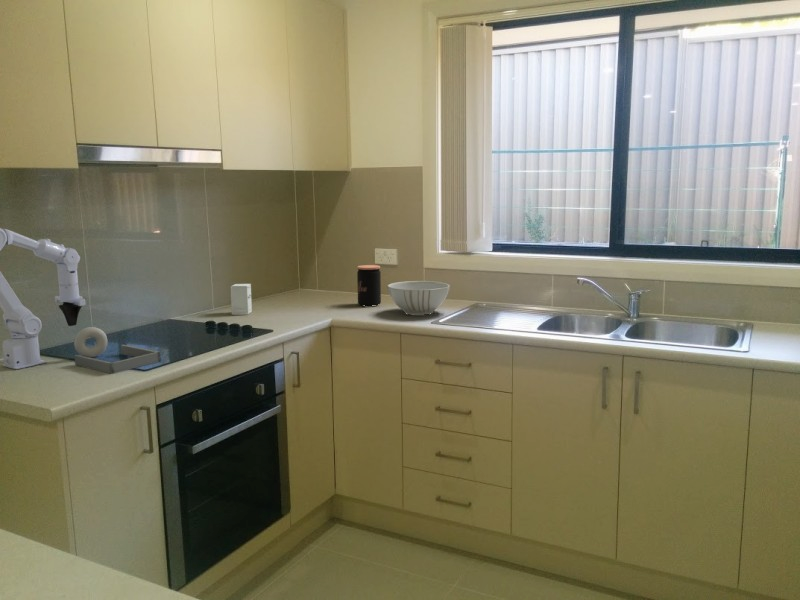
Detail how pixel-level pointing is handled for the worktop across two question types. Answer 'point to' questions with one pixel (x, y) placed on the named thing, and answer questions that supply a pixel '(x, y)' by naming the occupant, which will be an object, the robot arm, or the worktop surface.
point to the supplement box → (241, 299)
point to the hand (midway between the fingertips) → (72, 325)
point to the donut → (84, 335)
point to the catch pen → (139, 359)
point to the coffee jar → (369, 285)
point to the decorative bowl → (418, 296)
